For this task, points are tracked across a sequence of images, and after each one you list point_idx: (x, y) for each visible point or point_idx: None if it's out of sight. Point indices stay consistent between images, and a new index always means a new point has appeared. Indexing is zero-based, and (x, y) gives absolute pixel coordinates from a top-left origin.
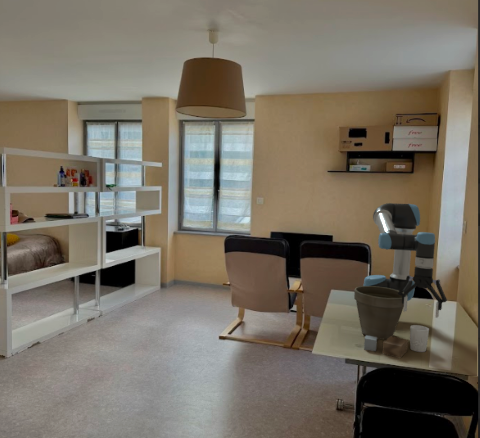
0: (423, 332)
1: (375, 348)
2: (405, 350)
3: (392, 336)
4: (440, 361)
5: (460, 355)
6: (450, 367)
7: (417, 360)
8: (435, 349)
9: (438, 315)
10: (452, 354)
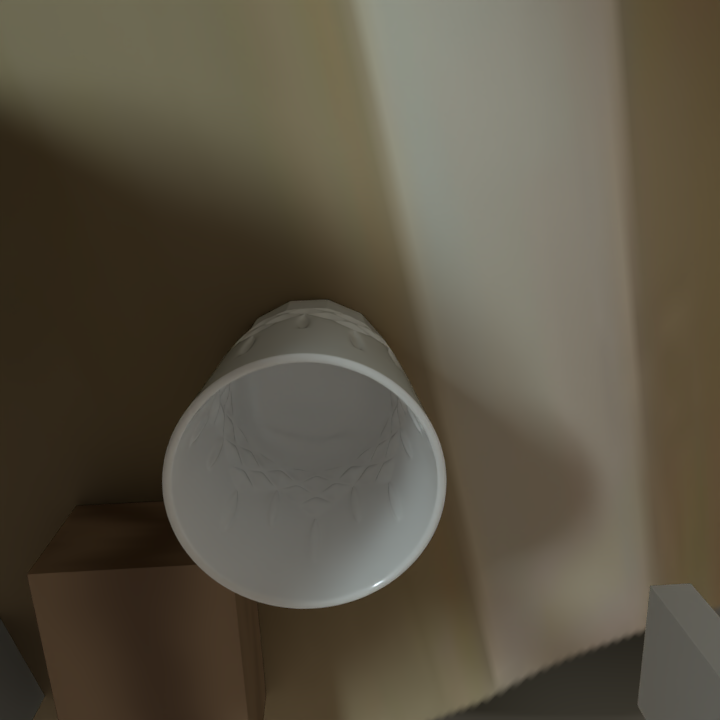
0: (393, 563)
1: (30, 718)
2: None
3: (47, 576)
4: (562, 536)
5: (712, 229)
6: None
7: (396, 646)
8: (460, 233)
9: (703, 607)
10: (636, 261)
